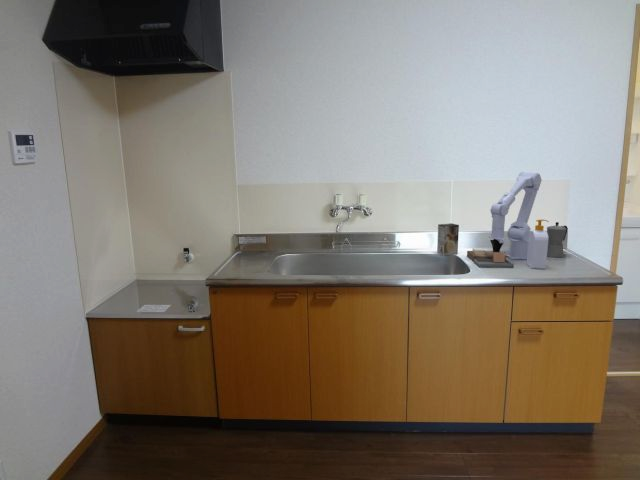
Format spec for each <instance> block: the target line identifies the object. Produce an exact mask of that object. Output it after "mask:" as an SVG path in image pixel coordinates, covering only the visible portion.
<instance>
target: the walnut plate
mask: <svg viewBox="0 0 640 480" xmlns="http://www.w3.org/2000/svg"><path fill="white" fill-rule="evenodd" d="M472 251H473V250H467V251H466V257H467V258H468V259H469V260H470V261H472V262H473V263H474V259H493V250H485V254H474V253H473V252H472ZM505 259H507V256H506V255H505Z"/></svg>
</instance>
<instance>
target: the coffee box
mask: <svg viewBox="0 0 640 480" xmlns="http://www.w3.org/2000/svg"><path fill="white" fill-rule="evenodd" d="M437 225H438V226H437V251H436V254H438V255H441V256H450V255H451V256H453V255H458V254H459V253H458V252H459V251H458V250H459V232H460V231H459V230H460V229H459V228H460V225H459V224H457V223H440V224H437Z"/></svg>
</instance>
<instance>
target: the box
mask: <svg viewBox="0 0 640 480" xmlns="http://www.w3.org/2000/svg"><path fill="white" fill-rule="evenodd" d="M473 264H475V265H476V266H477V267H478V268H480V269H482V268H484V269H485V268H490V269H494V268H495V269H499V268H500V269H513V268H514V263H513V262H511V261H510V260H508V259H507V258H506V259H505V262H493V259H474V262H473Z"/></svg>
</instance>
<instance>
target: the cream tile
mask: <svg viewBox="0 0 640 480" xmlns="http://www.w3.org/2000/svg"><path fill="white" fill-rule="evenodd" d="M471 251H472V252H473V253H474V254H485V251H486V250H485V249H484V248H482V247H480V248H479V247H475V248H474V247H472V250H471Z"/></svg>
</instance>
